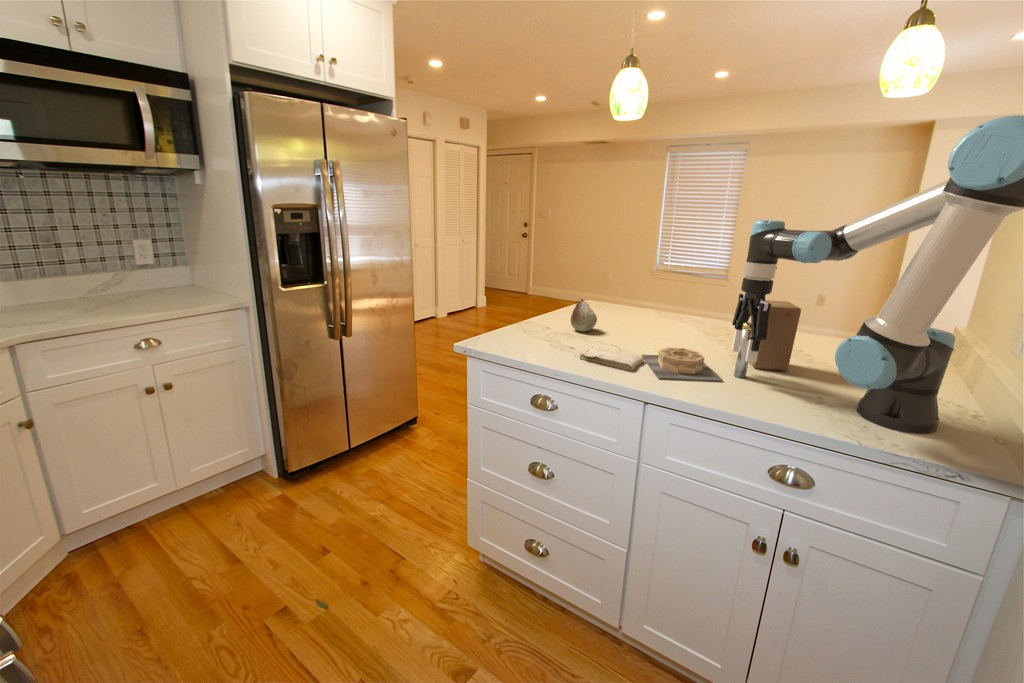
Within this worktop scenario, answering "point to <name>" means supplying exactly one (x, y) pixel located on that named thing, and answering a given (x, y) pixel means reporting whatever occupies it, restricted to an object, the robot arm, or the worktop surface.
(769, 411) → the worktop surface
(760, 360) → the wooden block
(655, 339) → the worktop surface
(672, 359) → the wooden ring socket base
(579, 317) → the fruit
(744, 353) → the brass-banded steel rod
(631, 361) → the washcloth
